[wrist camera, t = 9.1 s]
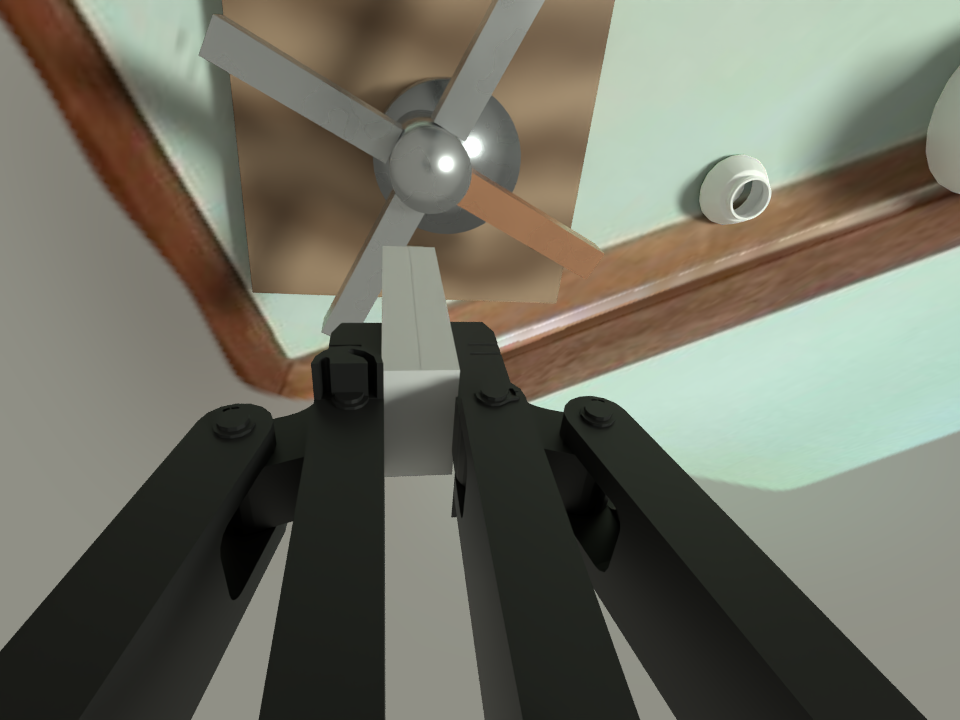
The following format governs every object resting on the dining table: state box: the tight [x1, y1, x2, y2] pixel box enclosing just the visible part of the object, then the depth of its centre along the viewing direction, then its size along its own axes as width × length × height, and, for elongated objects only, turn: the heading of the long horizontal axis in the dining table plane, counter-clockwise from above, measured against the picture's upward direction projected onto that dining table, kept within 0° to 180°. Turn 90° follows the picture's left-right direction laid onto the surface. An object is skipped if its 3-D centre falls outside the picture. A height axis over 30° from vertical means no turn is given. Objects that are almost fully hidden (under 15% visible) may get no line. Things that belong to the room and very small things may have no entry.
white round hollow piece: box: [699, 154, 771, 225], centre depth 41 cm, size 5×3×5 cm
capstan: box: [199, 0, 604, 336], centre depth 31 cm, size 22×22×9 cm
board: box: [222, 0, 615, 303], centre depth 36 cm, size 22×22×2 cm
